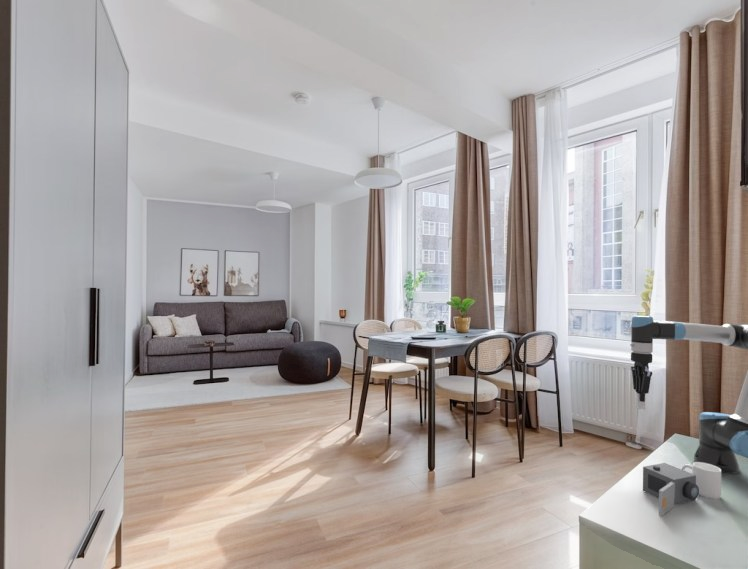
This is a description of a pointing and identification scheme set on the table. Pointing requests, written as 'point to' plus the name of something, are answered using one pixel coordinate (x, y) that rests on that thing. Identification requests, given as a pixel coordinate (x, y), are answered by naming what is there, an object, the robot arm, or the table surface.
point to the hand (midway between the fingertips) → (640, 408)
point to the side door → (666, 498)
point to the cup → (706, 479)
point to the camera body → (664, 474)
